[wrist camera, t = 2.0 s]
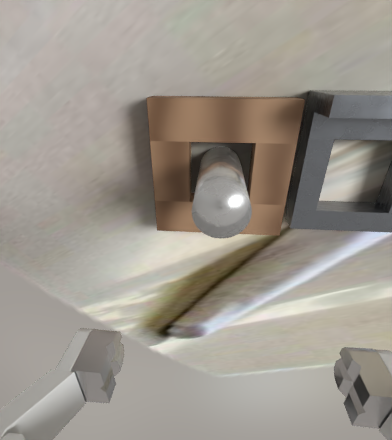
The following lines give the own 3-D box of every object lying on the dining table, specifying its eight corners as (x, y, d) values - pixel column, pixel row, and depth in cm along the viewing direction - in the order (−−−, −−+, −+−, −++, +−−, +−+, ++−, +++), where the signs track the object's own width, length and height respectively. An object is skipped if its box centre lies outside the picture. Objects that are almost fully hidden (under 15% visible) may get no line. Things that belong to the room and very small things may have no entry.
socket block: (161, 219, 33) (157, 230, 30) (152, 95, 26) (146, 97, 24) (275, 224, 32) (279, 235, 30) (297, 97, 25) (305, 99, 23)
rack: (285, 217, 31) (298, 246, 26) (309, 90, 25) (334, 95, 19) (389, 221, 30) (425, 252, 25) (444, 91, 24) (508, 96, 19)
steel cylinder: (200, 184, 30) (191, 237, 20) (200, 146, 28) (191, 184, 18) (238, 186, 30) (248, 239, 20) (242, 147, 28) (255, 186, 18)
